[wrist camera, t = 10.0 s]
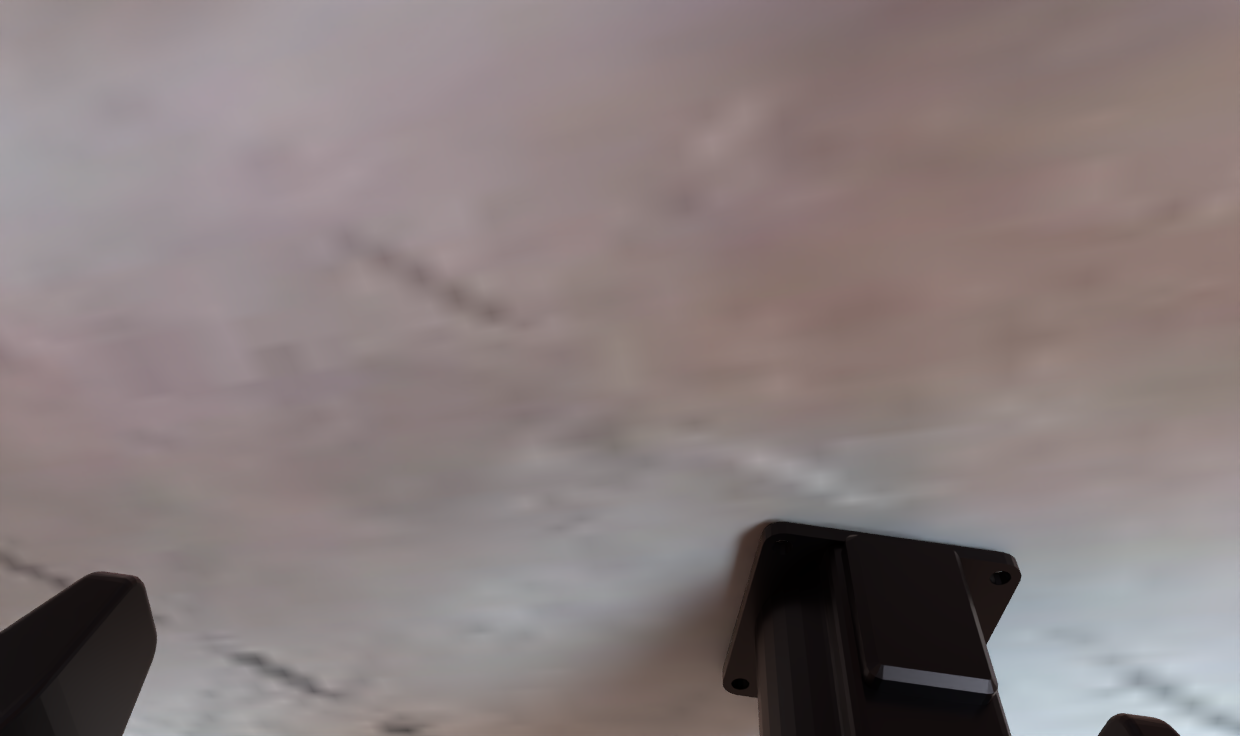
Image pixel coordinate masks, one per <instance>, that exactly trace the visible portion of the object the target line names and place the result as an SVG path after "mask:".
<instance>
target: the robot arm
mask: <svg viewBox="0 0 1240 736" xmlns="http://www.w3.org/2000/svg"><path fill="white" fill-rule="evenodd" d="M780 540H785V541H788V542H786V543H777V541H780ZM998 571H1002V572H1000V573H995V572H998ZM1020 579H1021V573H1020V570H1019V567H1018V565H1017V562H1016V559H1015V558H1014V557H1013V556H1011V555H1010V554H1007V553H1004V552H997V551H990V550H982V549H975V548H968V547H961V546H954V545H947V544H940V543H932V542H925V541H918V540H911V539H904V538H897V537H890V536H882V535H875V534H868V533H861V532H854V531H847V530H839V529H832V528H825V527H818V526H811V525H804V524H797V523H789V522H776V523H773V524H770V525H769V526H767V527H766V528H765V529H764V531H763V532H762V535H761V538H760V542H759V545H758V549H757V552H756V556H755V559H754V563H753V566H752V570H751V573H750V577H749V580H748V584H747V587H746V591H745V594H744V598H743V601H742V605H741V608H740V612H739V615H738V619H737V622H736V625H735V629H734V632H733V636H732V639H731V643H730V646H729V650H728V653H727V657H726V660H725V664H724V667H723V687H724V688H725V690H727V691H728V692H730V693H732V694H736V695H741V696H749V697H756V698H758V710H759V729H760V736H1011V733H1010V730H1009V727H1008V723H1007V720H1006V717H1005V713H1004V710H1003V707H1002V703H1001V700H1000V697H999V693H998V683H997V679H996V676H995V673H994V669H993V666H992V663H991V660H990V656H989V653H988V650H987V646H986V644H987V642H988V641H989V639H990V637H991V635H992V633H993V631H994V629H995V627H996V625H997V624H998V622H999V620H1000V618H1001V616H1002V614H1003V612H1004V610H1005V608H1006V607H1007V605H1008V603H1009V601H1010V599H1011V597H1012V595H1013V593H1014V592H1015V590H1016V588H1017V586H1018V584H1019V582H1020ZM156 644H157V633H156V628H155V624H154V620H153V616H152V612H151V608H150V604H149V600H148V596H147V593H146V589H145V586H144V583H143V582H142V581H141V580H140V579H139V578H138V577H136V576H132V575H125V574H118V573H111V572H94V573H91V574H89V575H86V576H84V577H83V578H81V579H80V580H78V581H77V582H75V583H74V584H72V585H71V586H69V587H68V588H66V589H64V590H63V591H61V592H60V593H58V594H57V595H55V596H54V597H52V598H51V599H49V600H48V601H46V602H45V603H43V604H42V605H40V606H39V607H37V608H36V609H34V610H33V611H31V612H30V613H28V614H27V615H25V616H24V617H22V618H21V619H19V620H18V621H16V622H15V623H13V624H12V625H10V626H9V627H7V628H6V629H4V630H3V631H1V632H0V736H122V735H123V733H124V730H125V728H126V725H127V723H128V720H129V718H130V715H131V713H132V710H133V708H134V706H135V703H136V701H137V698H138V696H139V693H140V691H141V688H142V686H143V683H144V681H145V678H146V676H147V673H148V671H149V668H150V666H151V663H152V661H153V658H154V654H155V650H156ZM1098 736H1180V735H1179V734H1178V733H1177V732H1176V731H1175V730H1174V729H1173V728H1172V727H1171V726H1170V725H1169V724H1167V723H1166V722H1164V721H1162V720H1160V719H1157V718H1154V717H1147V716H1139V715H1132V714H1125V713H1120V714H1117V715H1114V716H1113V717H1111V718H1110V719H1109V720H1108V722H1107V723H1106V725H1105V726H1104V727H1103V729H1102V730H1101V732H1100V733H1099V735H1098Z"/></svg>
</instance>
